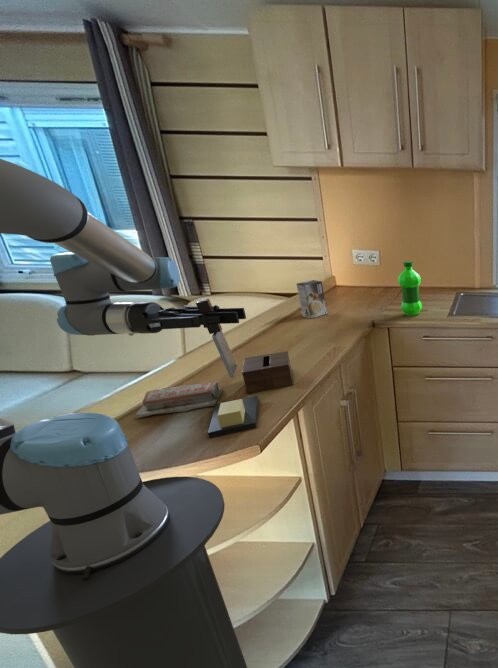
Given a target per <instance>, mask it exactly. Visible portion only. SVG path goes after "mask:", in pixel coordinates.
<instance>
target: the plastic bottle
mask: <svg viewBox="0 0 498 668" xmlns="http://www.w3.org/2000/svg"><path fill="white" fill-rule="evenodd" d="M402 263H403V267H404V270H403V271H402V272H401V273H399V275H398V277H397V282H398V284H399V286H400V287H401V296H402V302H401V305H400V308H401V310H402V312H403V313H404V314H406V315H407V316H410V317H411V316H412V317H413V316H417V315H418V314H420V312H421V311H422V309H423V303H422V302H421V300H420V285H421V283H422V278H421V275H420V274H418V272H417V271H415V270H413V267H414V262H413V261H411V260H410V261H409V260H407V261H406V260H405V261H403V262H402Z"/></svg>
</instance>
